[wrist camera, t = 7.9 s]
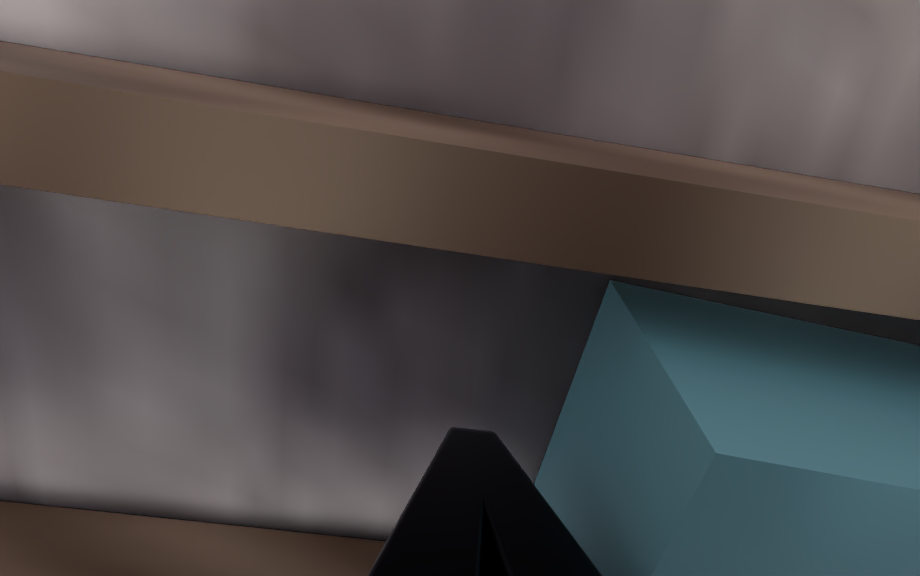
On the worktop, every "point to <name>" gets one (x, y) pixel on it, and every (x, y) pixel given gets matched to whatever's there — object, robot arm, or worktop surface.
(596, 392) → the block
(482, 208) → the guide channel
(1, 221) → the worktop surface
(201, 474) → the worktop surface
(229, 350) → the worktop surface
